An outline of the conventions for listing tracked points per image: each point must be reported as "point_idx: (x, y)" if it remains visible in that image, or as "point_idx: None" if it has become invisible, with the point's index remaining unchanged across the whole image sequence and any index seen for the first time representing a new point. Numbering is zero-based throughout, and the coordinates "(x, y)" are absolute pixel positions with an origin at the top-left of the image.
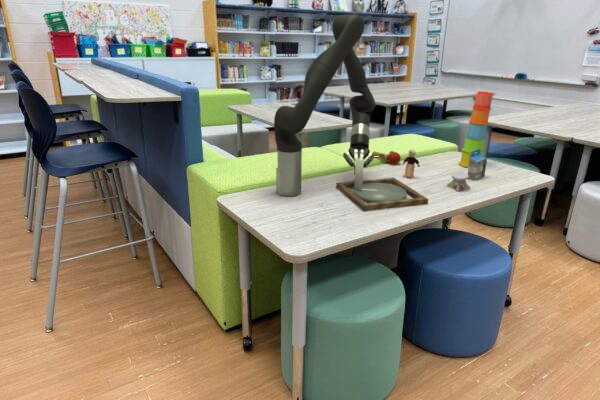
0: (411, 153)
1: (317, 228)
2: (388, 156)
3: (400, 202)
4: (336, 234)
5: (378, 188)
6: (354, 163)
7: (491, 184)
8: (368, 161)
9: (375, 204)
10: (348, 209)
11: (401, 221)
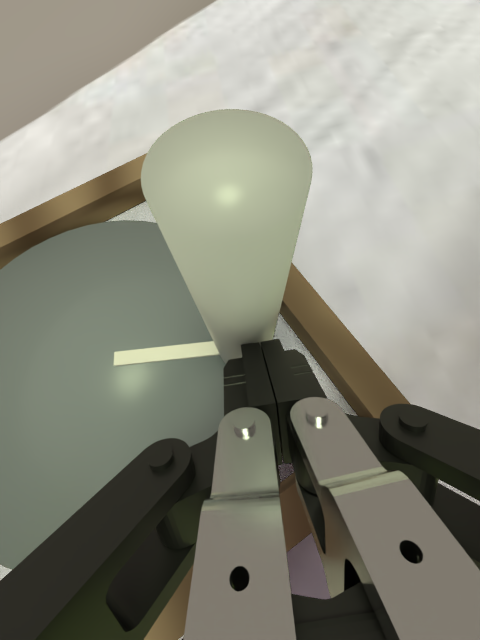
0: None
1: (311, 24)
2: None
3: (8, 222)
4: (248, 15)
5: (105, 409)
6: (355, 445)
7: None
8: (80, 517)
9: (132, 162)
10: None
11: (50, 124)
